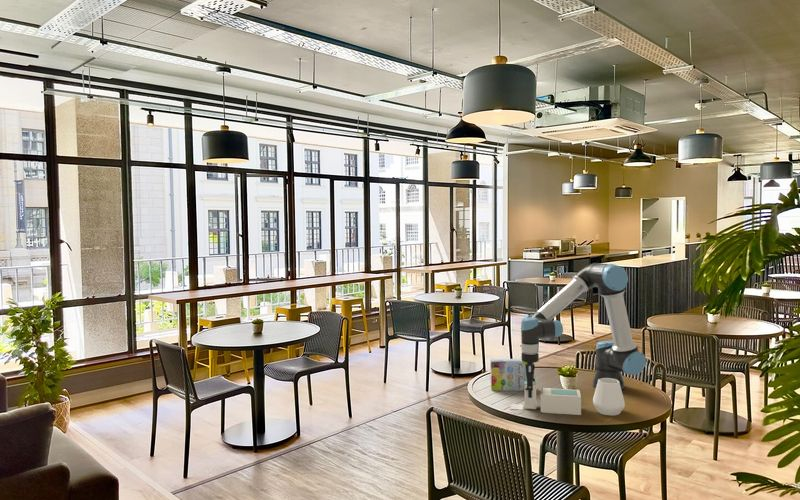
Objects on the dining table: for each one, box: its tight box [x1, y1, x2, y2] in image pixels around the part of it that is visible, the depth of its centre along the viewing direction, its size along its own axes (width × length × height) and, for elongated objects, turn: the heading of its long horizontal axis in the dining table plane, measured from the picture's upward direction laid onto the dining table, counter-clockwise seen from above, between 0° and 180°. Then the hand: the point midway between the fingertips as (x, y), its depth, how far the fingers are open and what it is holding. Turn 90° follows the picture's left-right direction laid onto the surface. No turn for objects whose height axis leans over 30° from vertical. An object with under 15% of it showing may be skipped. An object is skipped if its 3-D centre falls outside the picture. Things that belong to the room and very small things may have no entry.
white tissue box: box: [540, 387, 582, 416], centre depth 248 cm, size 17×10×8 cm, turn 76°
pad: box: [509, 403, 524, 411], centre depth 253 cm, size 6×7×1 cm
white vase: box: [592, 378, 626, 416], centre depth 244 cm, size 13×13×14 cm
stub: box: [524, 381, 537, 410], centre depth 251 cm, size 5×4×11 cm
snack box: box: [489, 358, 535, 392], centre depth 279 cm, size 21×6×15 cm, turn 84°
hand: (530, 399), depth 251 cm, fingers open, 12 cm apart
